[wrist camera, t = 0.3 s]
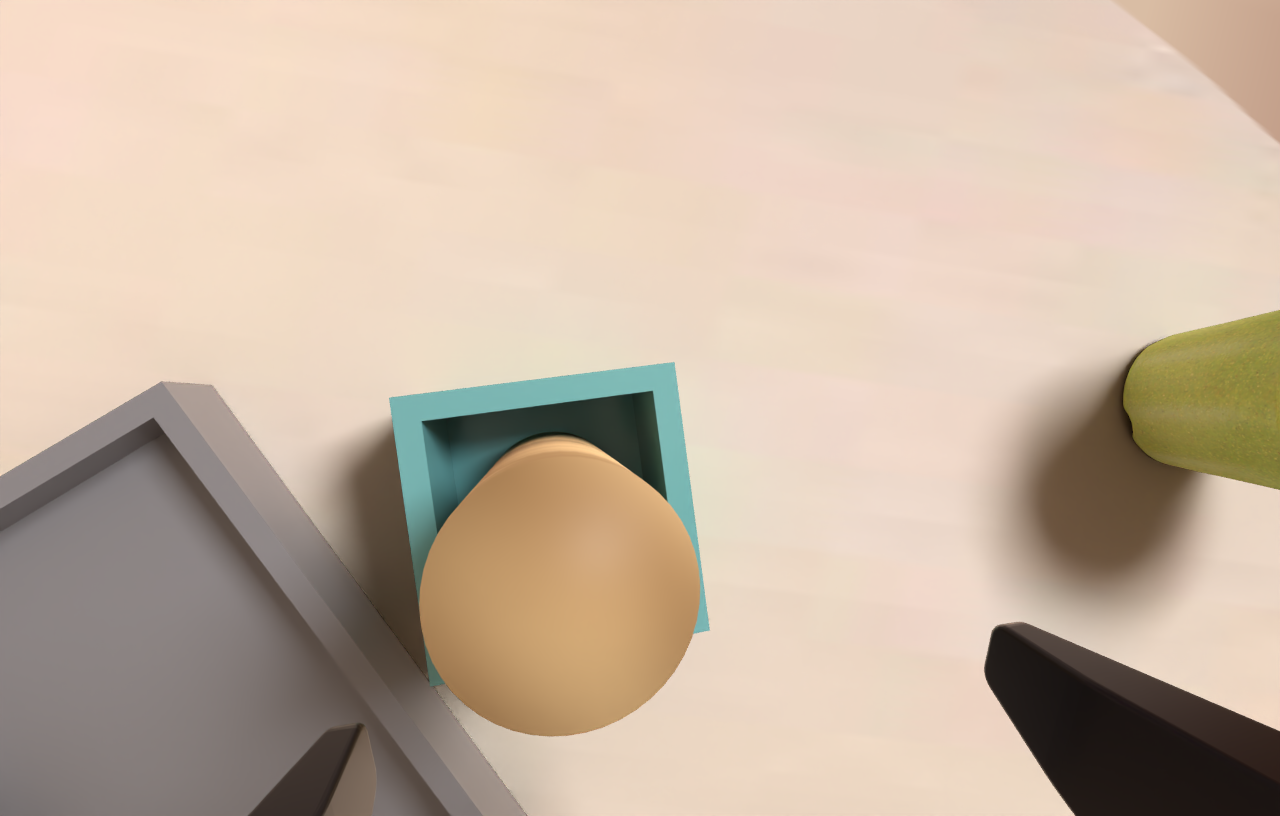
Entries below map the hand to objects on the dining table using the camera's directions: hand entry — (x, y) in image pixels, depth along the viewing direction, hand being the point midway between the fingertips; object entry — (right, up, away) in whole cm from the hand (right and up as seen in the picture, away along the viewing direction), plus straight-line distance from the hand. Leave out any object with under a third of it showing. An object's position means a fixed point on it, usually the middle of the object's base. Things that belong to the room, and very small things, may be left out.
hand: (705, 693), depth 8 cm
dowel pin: (-4, +1, +14) cm, 15 cm away
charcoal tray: (-16, -7, +13) cm, 22 cm away
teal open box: (-4, +1, +15) cm, 15 cm away
